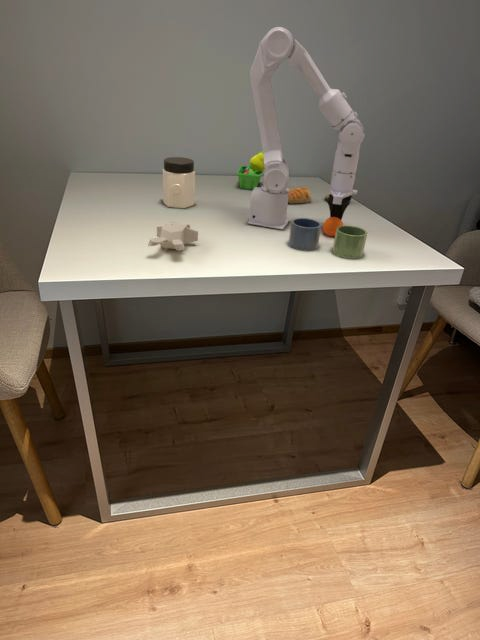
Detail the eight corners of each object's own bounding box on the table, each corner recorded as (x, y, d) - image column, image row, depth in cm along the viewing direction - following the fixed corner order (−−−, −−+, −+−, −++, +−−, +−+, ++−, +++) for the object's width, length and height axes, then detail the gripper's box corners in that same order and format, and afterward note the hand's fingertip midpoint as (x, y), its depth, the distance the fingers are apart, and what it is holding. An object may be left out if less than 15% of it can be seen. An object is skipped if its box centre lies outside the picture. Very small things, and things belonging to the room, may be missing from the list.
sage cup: (330, 255, 108) (334, 232, 105) (334, 245, 113) (338, 223, 111) (361, 261, 106) (366, 238, 103) (363, 250, 112) (368, 228, 109)
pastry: (290, 206, 138) (292, 193, 136) (275, 200, 143) (276, 187, 141) (312, 202, 144) (314, 189, 142) (297, 196, 148) (298, 184, 146)
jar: (160, 206, 129) (159, 162, 123) (165, 198, 136) (165, 155, 130) (192, 209, 129) (193, 165, 123) (196, 201, 136) (197, 158, 130)
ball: (320, 238, 120) (322, 222, 116) (325, 226, 123) (327, 211, 119) (339, 242, 118) (341, 226, 115) (343, 230, 121) (346, 215, 118)
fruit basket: (240, 180, 160) (242, 146, 154) (266, 183, 159) (269, 148, 153) (235, 189, 150) (238, 152, 144) (263, 192, 149) (266, 155, 144)
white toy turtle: (202, 221, 109) (188, 236, 96) (201, 242, 111) (187, 260, 98) (162, 217, 110) (143, 231, 96) (162, 238, 112) (143, 255, 98)
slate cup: (285, 247, 110) (288, 225, 107) (291, 237, 116) (294, 216, 113) (315, 252, 108) (319, 230, 106) (319, 242, 114) (323, 221, 111)
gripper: (358, 180, 108) (348, 235, 115) (362, 167, 120) (353, 218, 127) (328, 176, 110) (319, 231, 117) (335, 163, 122) (327, 214, 129)
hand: (335, 224), depth 122 cm, fingers closed
